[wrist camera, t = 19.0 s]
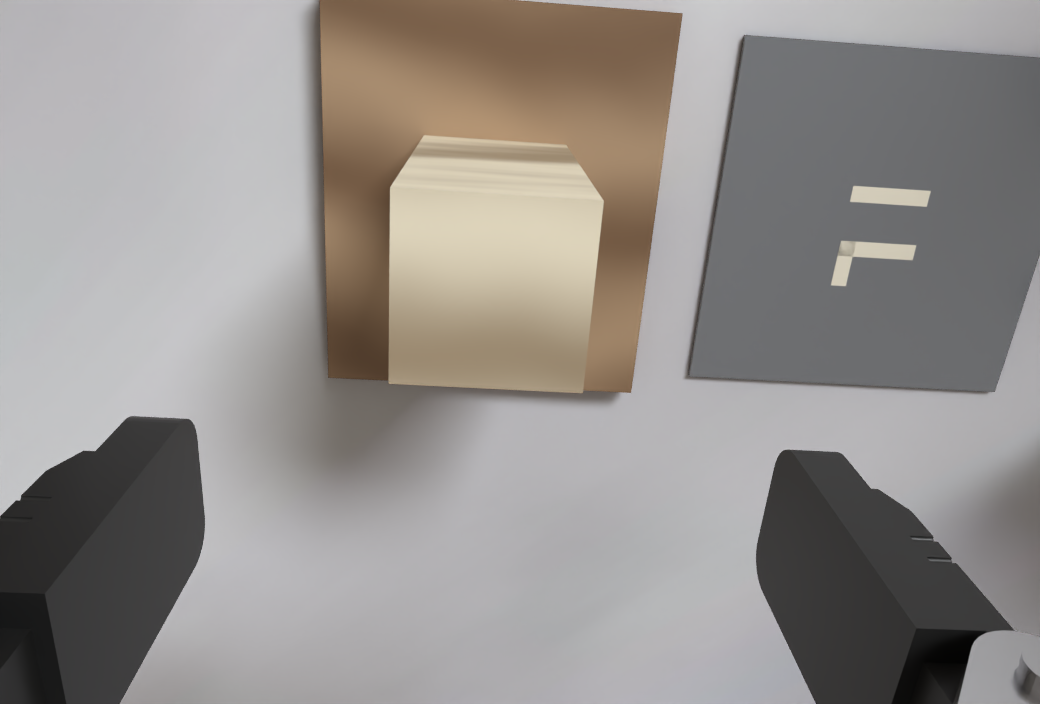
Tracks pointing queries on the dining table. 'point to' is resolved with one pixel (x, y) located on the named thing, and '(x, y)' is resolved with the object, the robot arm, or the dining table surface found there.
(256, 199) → the dining table surface
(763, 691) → the dining table surface
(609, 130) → the walnut board
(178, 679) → the dining table surface
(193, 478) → the robot arm
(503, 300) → the birch block
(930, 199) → the tile
